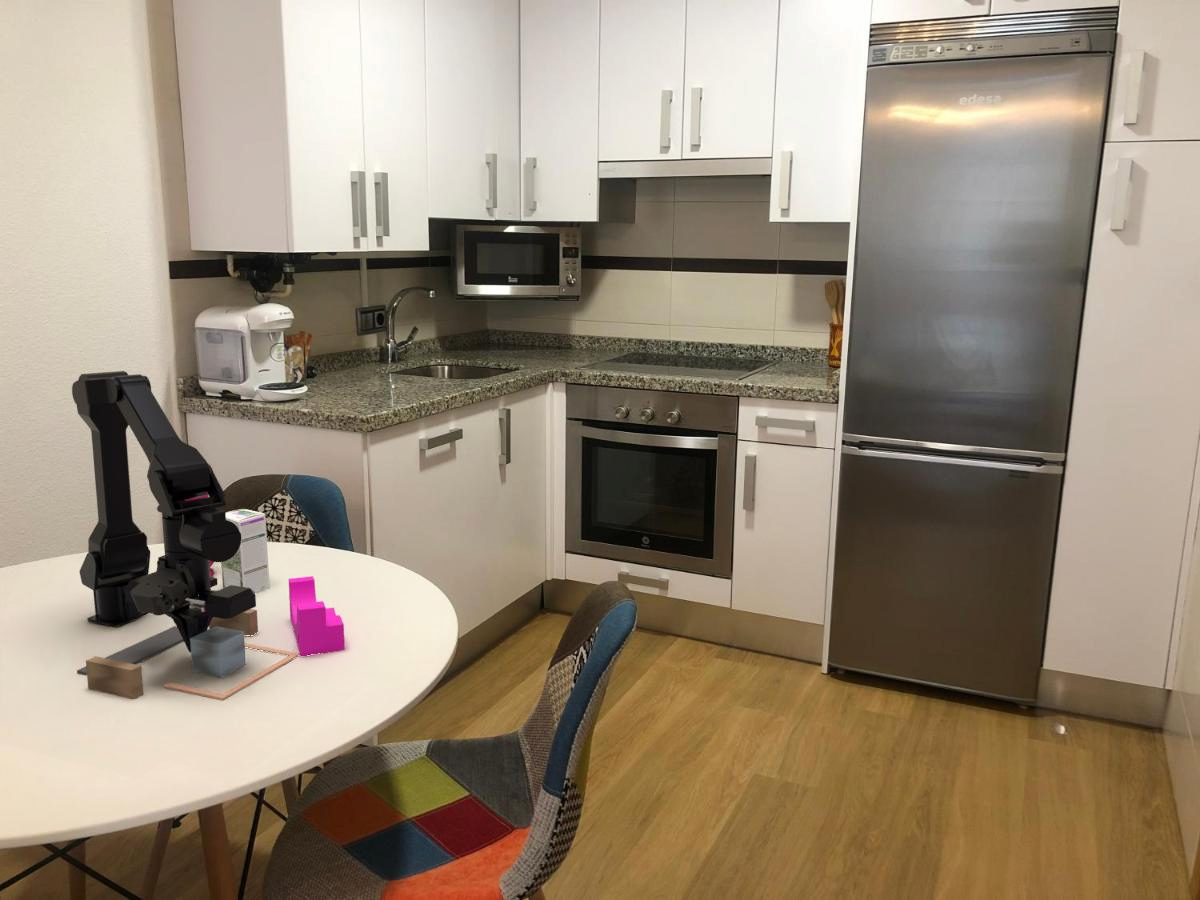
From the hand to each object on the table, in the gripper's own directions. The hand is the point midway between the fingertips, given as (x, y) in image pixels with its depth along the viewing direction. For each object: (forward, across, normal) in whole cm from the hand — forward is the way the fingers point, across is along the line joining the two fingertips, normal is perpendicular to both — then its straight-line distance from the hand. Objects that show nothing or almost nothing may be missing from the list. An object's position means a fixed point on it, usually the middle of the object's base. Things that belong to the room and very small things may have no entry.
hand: (193, 652), depth 140 cm
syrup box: (+2, -13, +26) cm, 29 cm away
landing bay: (+2, +6, 0) cm, 7 cm away
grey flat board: (+2, -10, 0) cm, 10 cm away
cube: (+2, +4, 0) cm, 5 cm away
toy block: (+2, +10, +15) cm, 18 cm away
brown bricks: (+2, -3, 0) cm, 3 cm away
